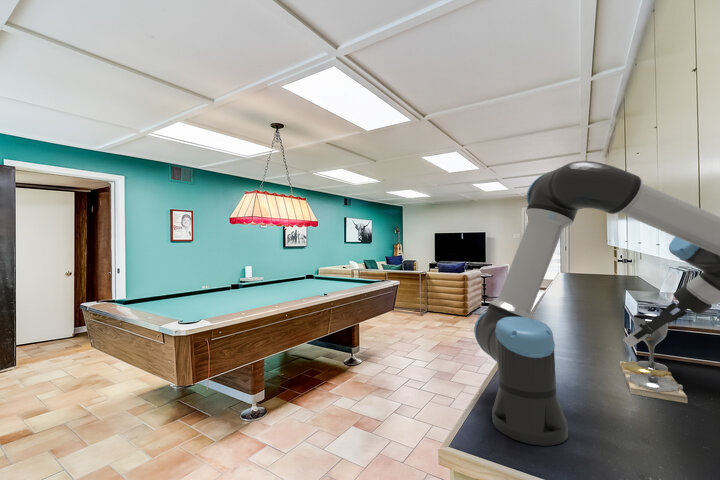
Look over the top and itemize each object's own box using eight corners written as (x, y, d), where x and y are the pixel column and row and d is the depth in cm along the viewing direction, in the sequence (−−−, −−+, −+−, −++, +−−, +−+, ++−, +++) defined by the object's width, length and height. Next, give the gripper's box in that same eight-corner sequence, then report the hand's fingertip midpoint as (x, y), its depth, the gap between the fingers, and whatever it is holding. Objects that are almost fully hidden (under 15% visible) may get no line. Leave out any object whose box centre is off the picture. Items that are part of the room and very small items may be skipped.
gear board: (689, 403, 81) (688, 389, 81) (629, 393, 87) (628, 380, 87) (666, 371, 101) (665, 360, 101) (619, 365, 107) (618, 355, 107)
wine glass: (655, 360, 104) (653, 313, 104) (677, 370, 96) (675, 320, 96) (628, 360, 104) (626, 314, 104) (648, 370, 96) (646, 320, 96)
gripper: (706, 312, 80) (633, 358, 92) (720, 300, 95) (655, 341, 106) (675, 289, 85) (609, 336, 96) (693, 281, 99) (634, 322, 111)
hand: (633, 339), depth 101 cm, fingers open, 13 cm apart
